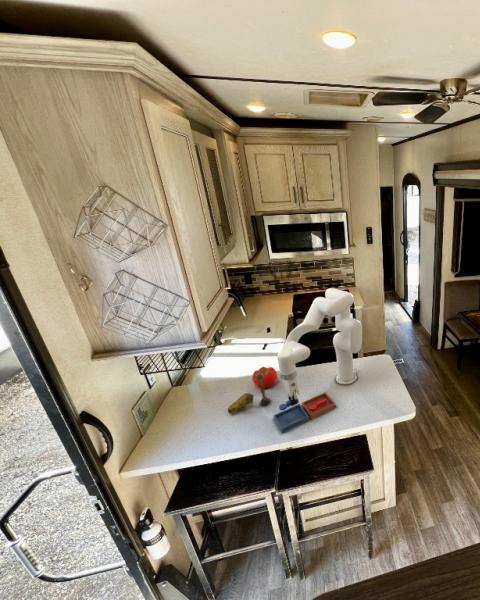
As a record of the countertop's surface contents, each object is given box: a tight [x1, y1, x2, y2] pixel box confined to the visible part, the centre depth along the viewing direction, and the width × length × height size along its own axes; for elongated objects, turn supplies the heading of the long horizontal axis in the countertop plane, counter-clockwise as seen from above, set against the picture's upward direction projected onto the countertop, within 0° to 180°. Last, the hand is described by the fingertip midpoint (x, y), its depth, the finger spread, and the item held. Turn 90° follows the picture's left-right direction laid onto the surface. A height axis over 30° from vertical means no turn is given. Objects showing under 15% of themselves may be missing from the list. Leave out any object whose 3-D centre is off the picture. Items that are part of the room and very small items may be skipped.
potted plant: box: [252, 373, 271, 407], centre depth 179 cm, size 6×5×20 cm
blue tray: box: [273, 403, 310, 434], centre depth 171 cm, size 14×12×3 cm
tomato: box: [251, 366, 278, 389], centre depth 196 cm, size 14×13×10 cm
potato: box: [227, 392, 254, 414], centre depth 178 cm, size 8×13×8 cm, turn 109°
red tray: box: [301, 392, 337, 420], centre depth 179 cm, size 14×12×3 cm
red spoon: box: [310, 398, 327, 411], centre depth 179 cm, size 10×4×2 cm, turn 128°
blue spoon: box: [278, 397, 300, 411], centre depth 167 cm, size 10×4×2 cm, turn 128°
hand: (293, 403), depth 169 cm, fingers closed on blue spoon, 1 cm apart
